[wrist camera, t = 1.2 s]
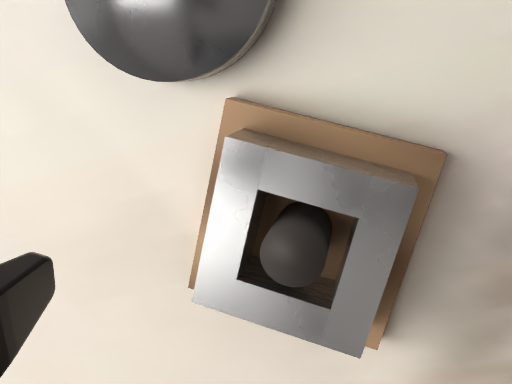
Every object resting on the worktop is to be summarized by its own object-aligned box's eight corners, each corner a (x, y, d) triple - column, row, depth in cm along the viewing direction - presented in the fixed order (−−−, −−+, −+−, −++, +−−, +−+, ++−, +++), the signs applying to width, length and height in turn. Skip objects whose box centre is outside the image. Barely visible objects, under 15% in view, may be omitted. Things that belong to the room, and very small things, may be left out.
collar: (361, 323, 20) (360, 358, 18) (212, 275, 21) (191, 301, 19) (412, 172, 18) (419, 188, 16) (243, 128, 19) (225, 136, 17)
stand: (376, 337, 21) (378, 398, 17) (195, 278, 23) (158, 322, 19) (442, 150, 18) (463, 172, 15) (232, 97, 20) (199, 103, 16)
